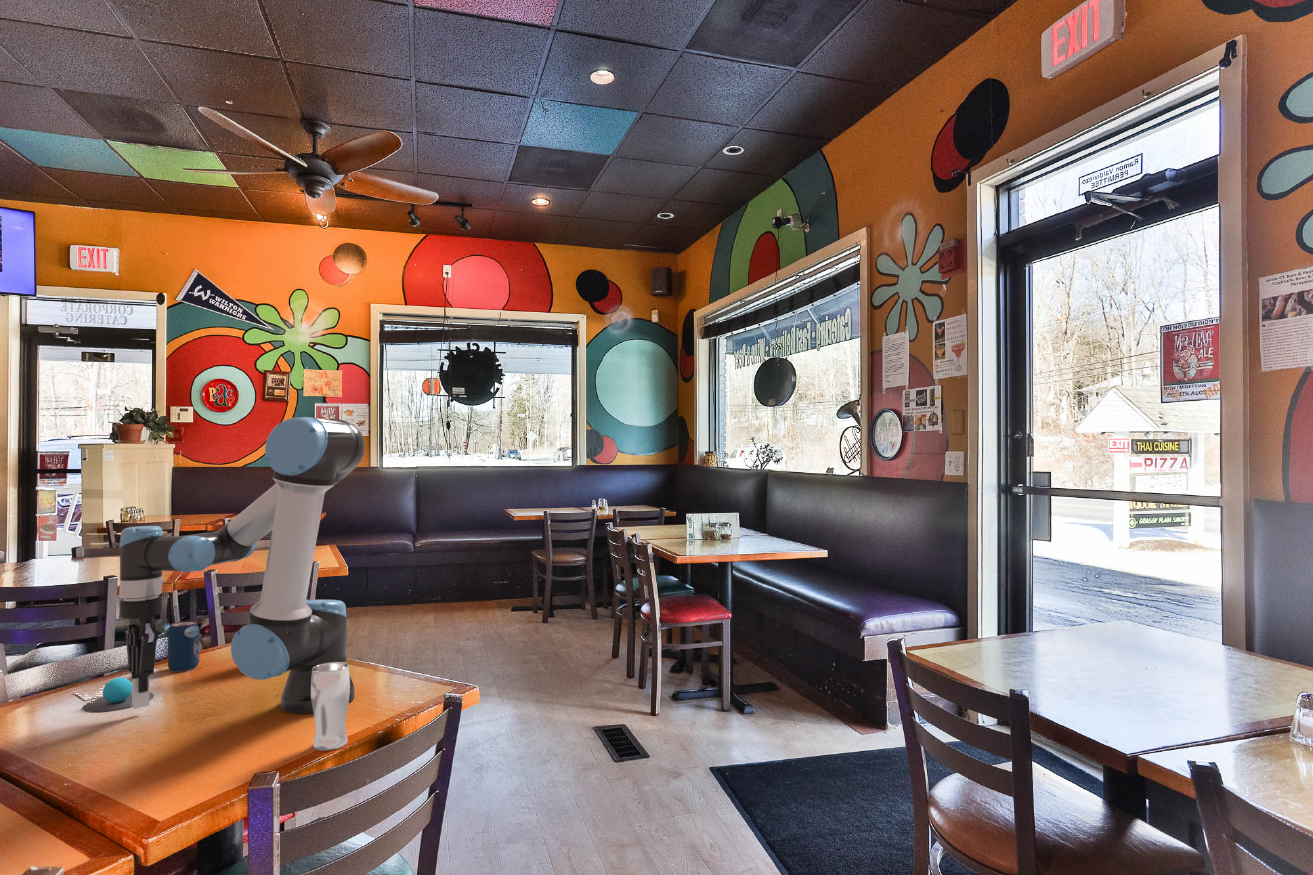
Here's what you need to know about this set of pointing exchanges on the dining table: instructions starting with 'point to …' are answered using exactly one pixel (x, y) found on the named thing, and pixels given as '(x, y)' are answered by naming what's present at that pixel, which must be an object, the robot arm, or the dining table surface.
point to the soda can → (183, 646)
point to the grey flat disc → (110, 704)
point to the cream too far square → (90, 697)
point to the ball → (117, 690)
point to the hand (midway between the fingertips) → (140, 706)
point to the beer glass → (330, 704)
